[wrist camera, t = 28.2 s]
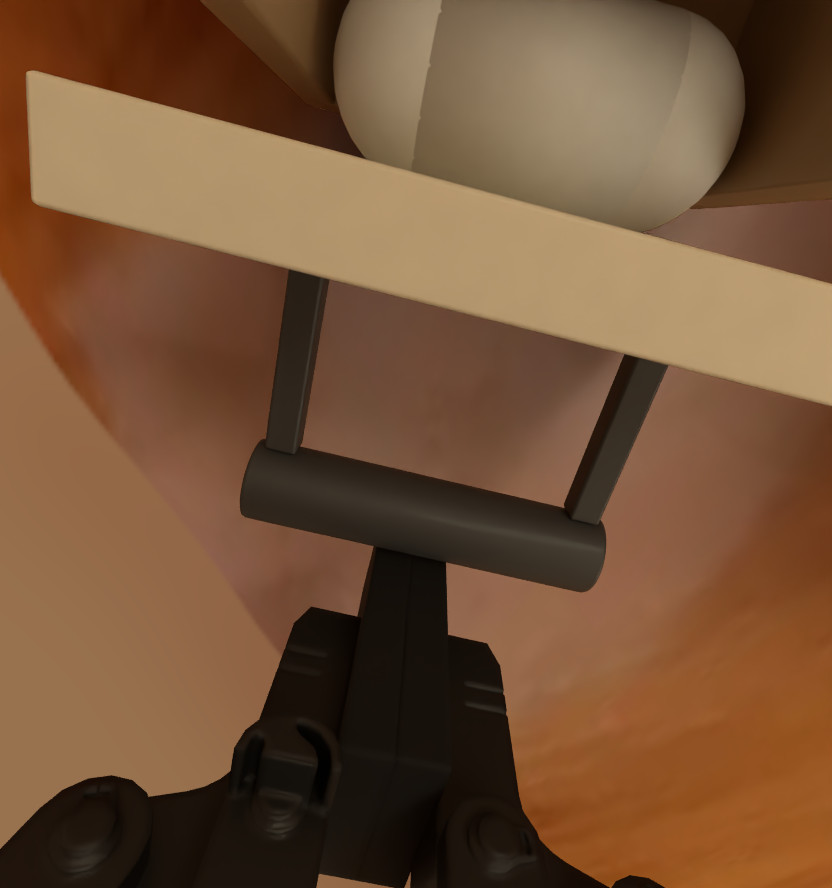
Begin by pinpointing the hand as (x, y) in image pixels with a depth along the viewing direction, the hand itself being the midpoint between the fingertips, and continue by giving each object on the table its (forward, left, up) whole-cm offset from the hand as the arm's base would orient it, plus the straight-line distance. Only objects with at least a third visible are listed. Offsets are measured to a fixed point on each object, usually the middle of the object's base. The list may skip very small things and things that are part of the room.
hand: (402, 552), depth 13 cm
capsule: (0, +12, +1) cm, 12 cm away
